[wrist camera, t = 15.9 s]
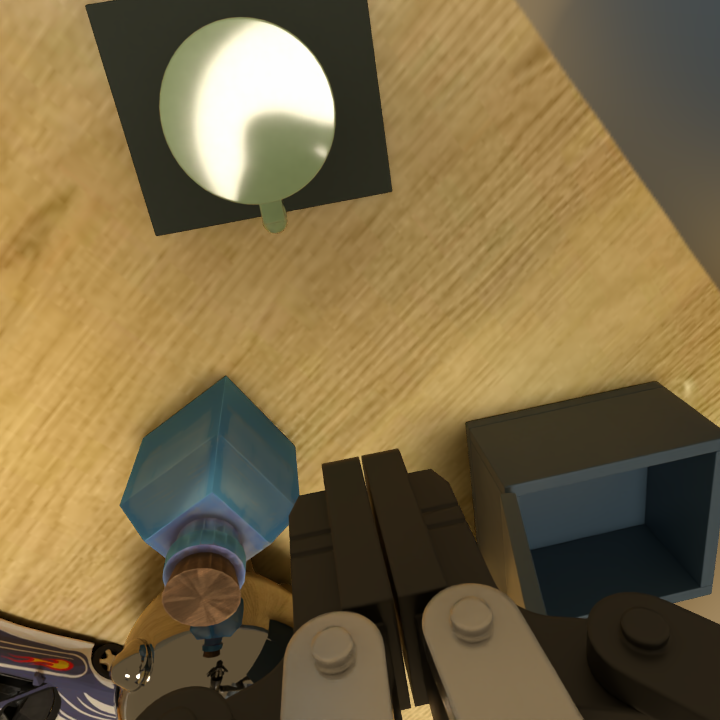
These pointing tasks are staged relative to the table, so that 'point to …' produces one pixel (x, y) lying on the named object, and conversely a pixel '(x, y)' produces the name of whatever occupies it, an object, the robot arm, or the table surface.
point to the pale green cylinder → (248, 113)
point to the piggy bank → (203, 648)
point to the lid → (519, 558)
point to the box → (603, 495)
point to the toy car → (53, 676)
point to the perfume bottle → (211, 499)
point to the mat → (152, 55)
